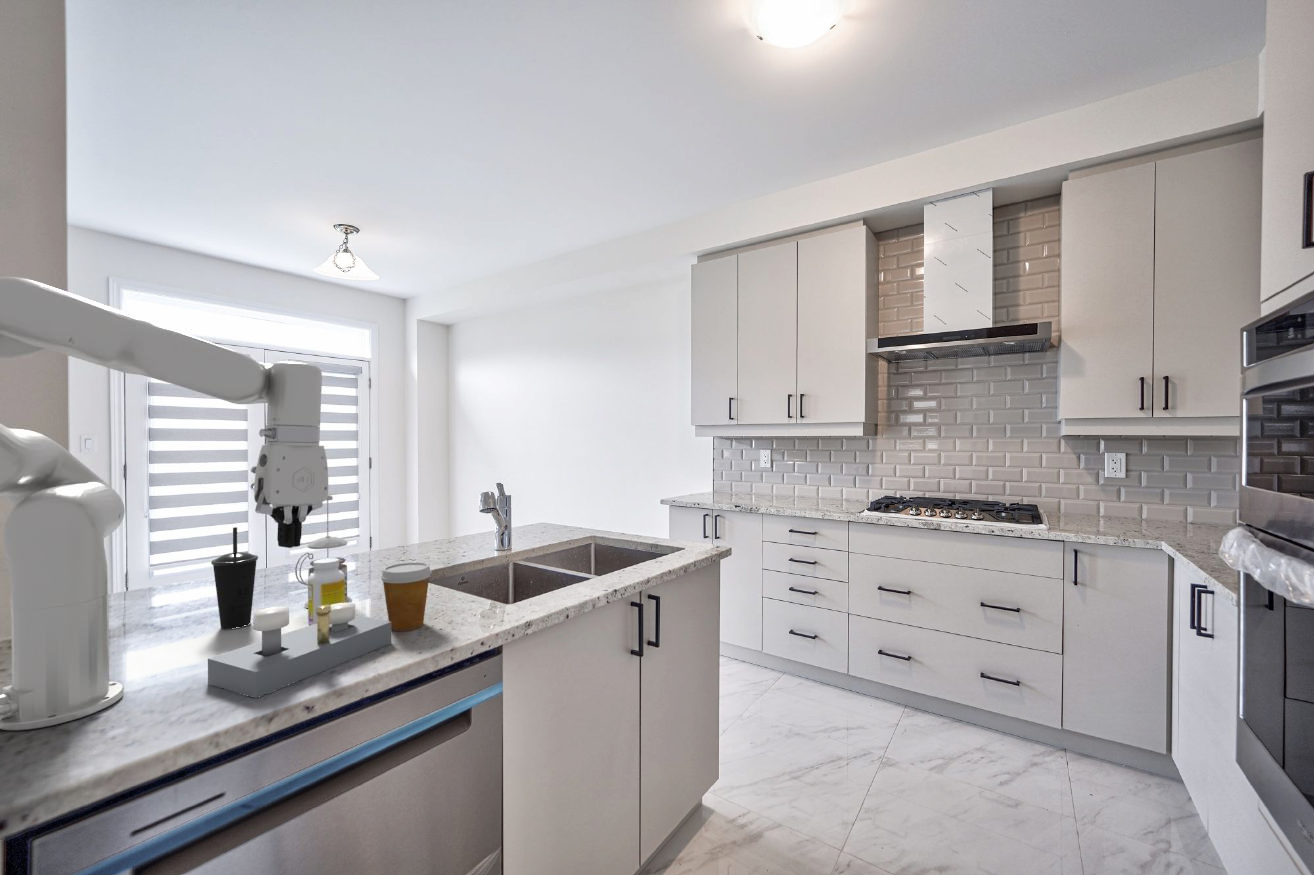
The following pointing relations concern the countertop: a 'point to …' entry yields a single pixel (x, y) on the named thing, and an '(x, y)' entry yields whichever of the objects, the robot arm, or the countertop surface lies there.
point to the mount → (295, 657)
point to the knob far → (341, 615)
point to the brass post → (323, 623)
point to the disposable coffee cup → (406, 594)
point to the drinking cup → (235, 586)
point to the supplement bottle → (325, 586)
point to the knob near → (271, 627)
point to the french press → (325, 544)
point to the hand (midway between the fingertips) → (289, 546)
